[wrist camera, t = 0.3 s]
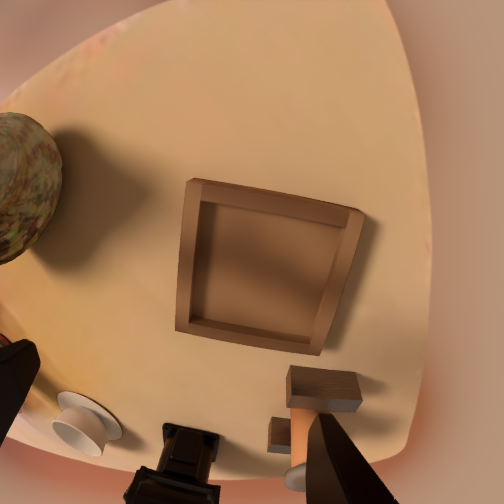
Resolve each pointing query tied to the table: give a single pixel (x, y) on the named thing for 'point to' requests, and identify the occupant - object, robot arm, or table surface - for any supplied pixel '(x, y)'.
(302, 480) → the pin
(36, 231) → the seashell
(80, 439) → the teacup
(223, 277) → the tray
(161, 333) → the table surface
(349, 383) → the hitch bracket
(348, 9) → the table surface
